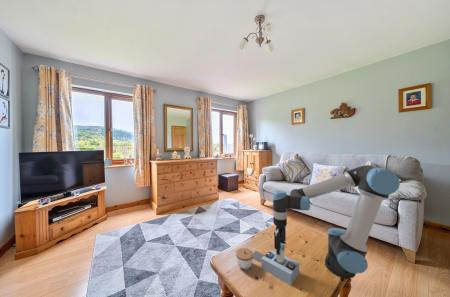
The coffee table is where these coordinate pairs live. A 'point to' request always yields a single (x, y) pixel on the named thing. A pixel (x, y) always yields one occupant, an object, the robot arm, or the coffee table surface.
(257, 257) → the mat
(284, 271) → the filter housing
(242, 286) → the coffee table surface
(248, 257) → the lidded jar
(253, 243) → the coffee table surface
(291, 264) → the plunger near
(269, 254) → the plunger far
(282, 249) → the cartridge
